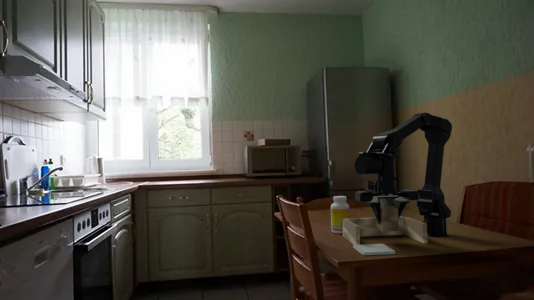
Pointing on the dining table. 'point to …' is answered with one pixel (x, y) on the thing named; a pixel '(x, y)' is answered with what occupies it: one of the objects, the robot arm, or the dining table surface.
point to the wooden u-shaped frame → (369, 228)
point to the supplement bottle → (339, 213)
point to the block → (388, 219)
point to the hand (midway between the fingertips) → (387, 223)
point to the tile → (373, 249)
